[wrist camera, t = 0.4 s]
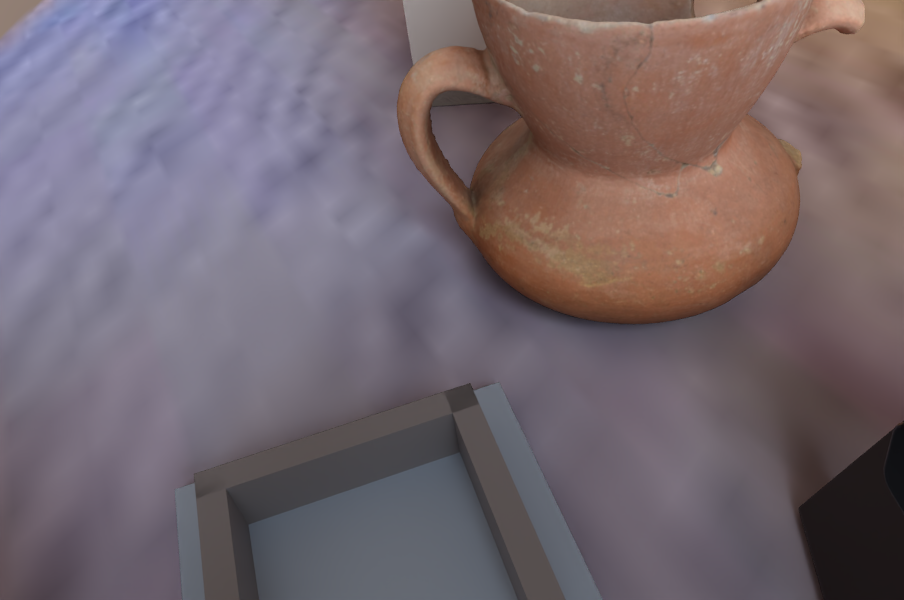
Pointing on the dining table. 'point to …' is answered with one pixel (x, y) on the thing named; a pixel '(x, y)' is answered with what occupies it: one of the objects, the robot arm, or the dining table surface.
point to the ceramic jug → (623, 149)
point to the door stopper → (857, 532)
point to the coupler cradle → (385, 513)
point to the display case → (443, 36)
